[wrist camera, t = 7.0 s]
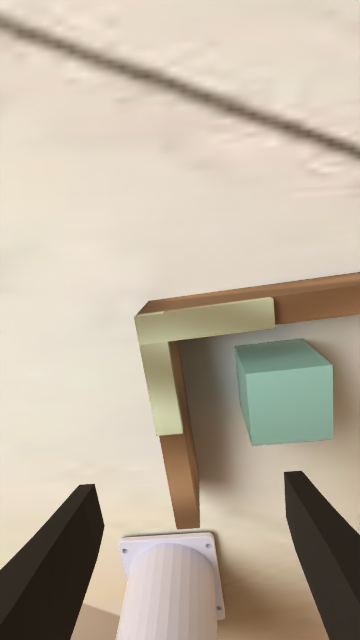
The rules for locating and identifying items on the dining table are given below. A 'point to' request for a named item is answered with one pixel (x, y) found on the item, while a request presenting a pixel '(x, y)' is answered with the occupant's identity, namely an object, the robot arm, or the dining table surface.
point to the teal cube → (285, 392)
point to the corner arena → (211, 320)
